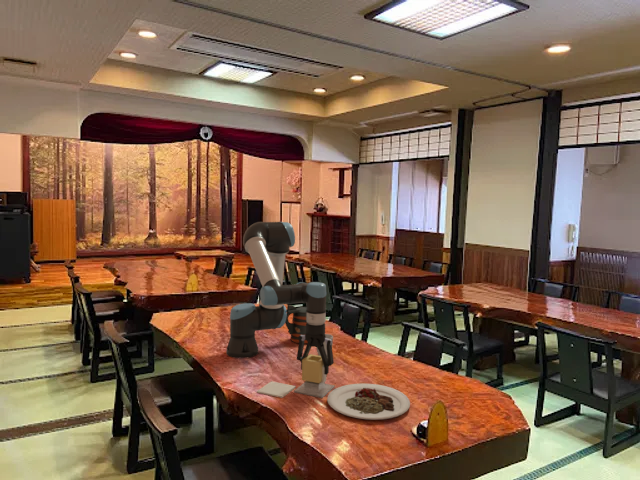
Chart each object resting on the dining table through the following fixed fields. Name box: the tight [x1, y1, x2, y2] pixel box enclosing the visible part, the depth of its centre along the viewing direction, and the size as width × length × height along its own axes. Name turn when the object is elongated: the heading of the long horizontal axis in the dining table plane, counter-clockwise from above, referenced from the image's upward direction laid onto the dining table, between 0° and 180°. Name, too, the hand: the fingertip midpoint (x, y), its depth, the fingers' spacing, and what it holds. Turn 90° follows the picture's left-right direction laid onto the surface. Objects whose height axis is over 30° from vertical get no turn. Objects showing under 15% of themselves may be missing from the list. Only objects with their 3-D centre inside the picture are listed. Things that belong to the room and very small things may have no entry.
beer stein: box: [284, 304, 308, 345], centre depth 247 cm, size 19×15×20 cm
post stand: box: [293, 380, 335, 399], centre depth 184 cm, size 12×12×11 cm
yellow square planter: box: [301, 353, 328, 383], centre depth 184 cm, size 7×7×8 cm
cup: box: [316, 333, 334, 358], centre depth 222 cm, size 8×8×10 cm
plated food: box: [326, 383, 411, 420], centre depth 172 cm, size 30×30×3 cm
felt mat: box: [256, 380, 297, 399], centre depth 183 cm, size 11×11×1 cm
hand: (314, 379), depth 184 cm, fingers closed on yellow square planter, 7 cm apart
